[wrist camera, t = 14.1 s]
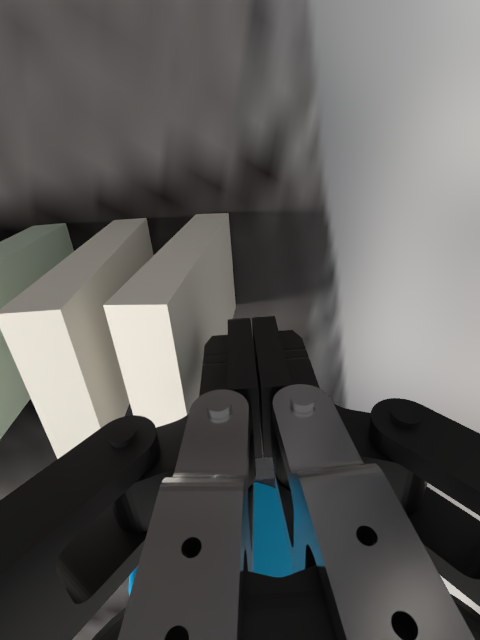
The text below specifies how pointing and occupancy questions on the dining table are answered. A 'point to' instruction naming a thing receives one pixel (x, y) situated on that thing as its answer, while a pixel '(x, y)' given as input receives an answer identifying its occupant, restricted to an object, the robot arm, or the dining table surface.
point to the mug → (264, 536)
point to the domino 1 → (12, 279)
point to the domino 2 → (76, 334)
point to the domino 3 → (173, 318)
